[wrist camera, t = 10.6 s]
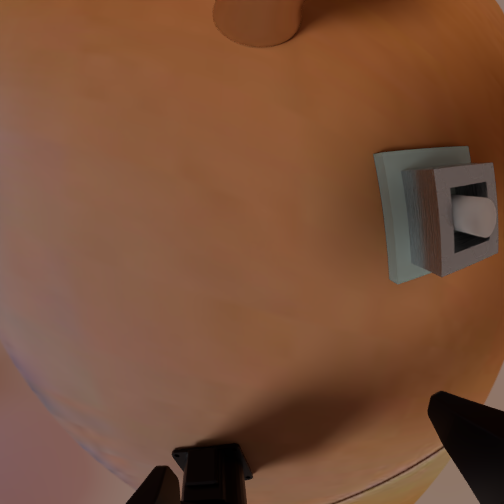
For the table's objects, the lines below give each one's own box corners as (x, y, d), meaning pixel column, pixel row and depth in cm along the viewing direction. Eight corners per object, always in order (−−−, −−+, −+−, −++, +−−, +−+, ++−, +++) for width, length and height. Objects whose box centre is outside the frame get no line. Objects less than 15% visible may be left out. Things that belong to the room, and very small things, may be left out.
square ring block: (468, 243, 18) (498, 252, 15) (411, 263, 18) (441, 277, 15) (461, 163, 17) (492, 162, 13) (400, 171, 17) (433, 169, 13)
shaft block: (468, 251, 20) (517, 269, 14) (389, 279, 19) (438, 309, 13) (458, 147, 18) (511, 142, 12) (373, 154, 17) (427, 144, 11)
